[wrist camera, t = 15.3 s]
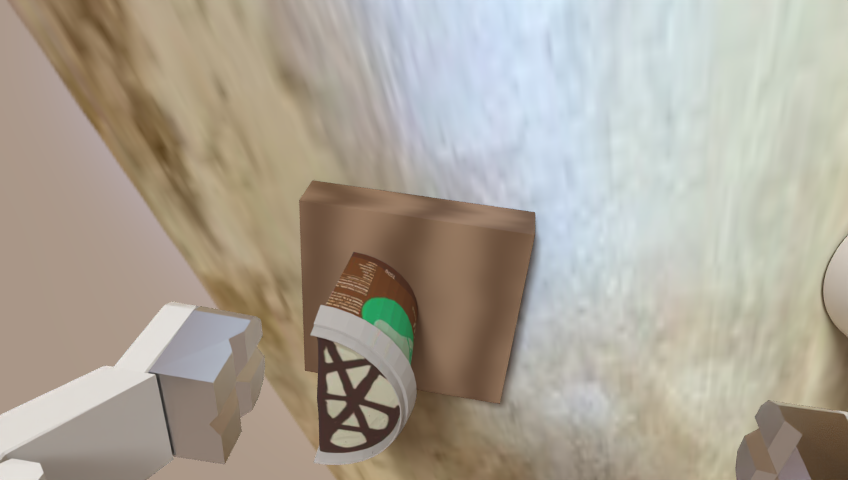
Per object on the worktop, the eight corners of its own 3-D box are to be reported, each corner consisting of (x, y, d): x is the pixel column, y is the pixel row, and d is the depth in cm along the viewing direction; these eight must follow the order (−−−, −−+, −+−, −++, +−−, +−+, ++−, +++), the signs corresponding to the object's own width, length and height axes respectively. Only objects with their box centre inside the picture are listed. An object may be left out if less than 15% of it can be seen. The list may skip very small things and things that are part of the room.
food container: (426, 376, 49) (404, 484, 41) (350, 363, 50) (313, 468, 41) (441, 247, 43) (418, 344, 34) (353, 234, 43) (309, 327, 35)
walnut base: (534, 212, 44) (534, 234, 41) (501, 376, 52) (499, 403, 50) (312, 180, 45) (299, 200, 42) (315, 346, 54) (305, 370, 51)
